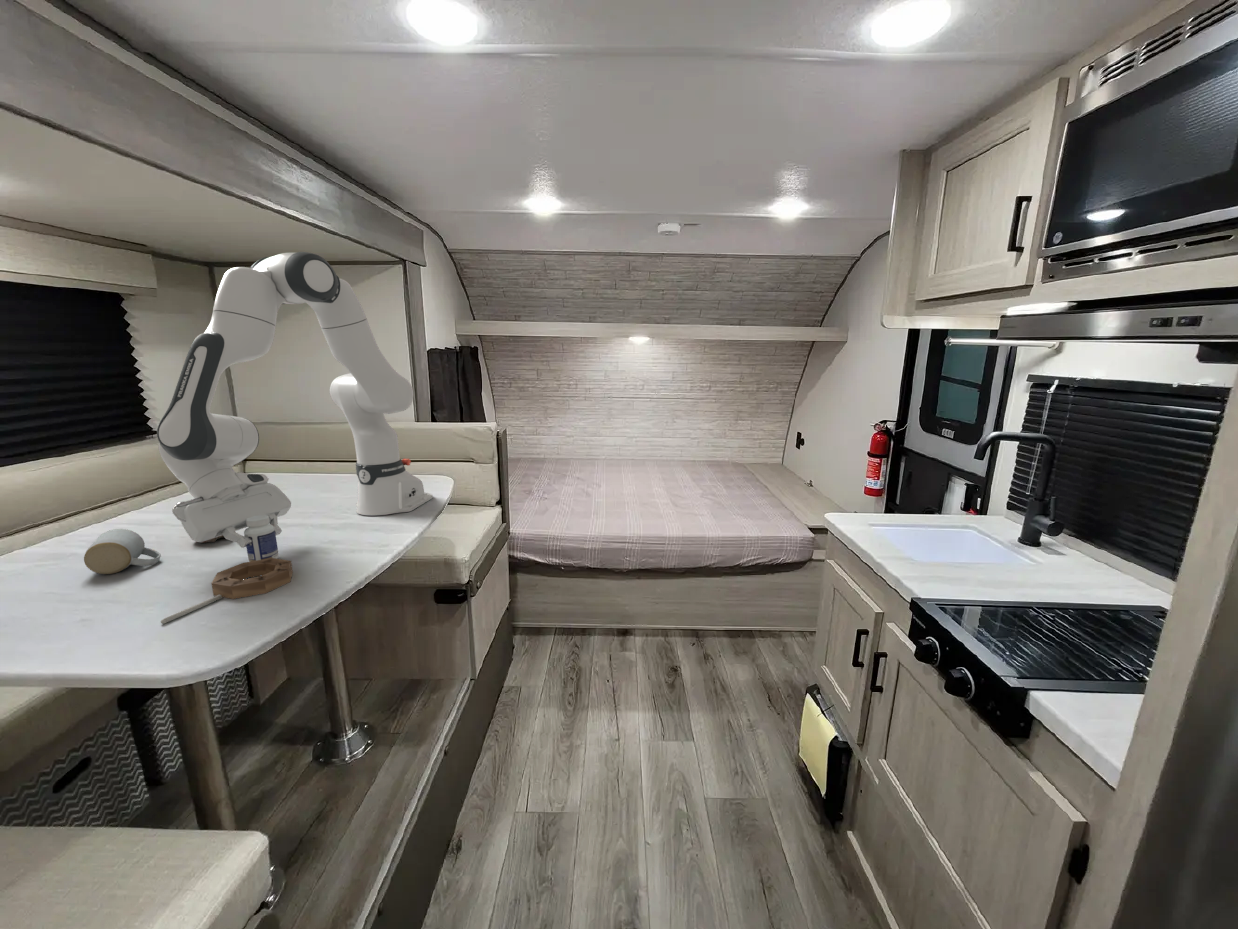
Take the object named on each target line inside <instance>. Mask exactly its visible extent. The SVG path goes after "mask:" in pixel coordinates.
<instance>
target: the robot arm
mask: <svg viewBox="0 0 1238 929" xmlns="http://www.w3.org/2000/svg"><path fill="white" fill-rule="evenodd" d="M215 295H216V296H215V300H214V303H213V309H212V315H211V318H210V322H209V323H208V326H207V327H206V329H205V331H204V332H203V333H200V334H198V335H197V336H196V337H195V339H193V342H192V343H191V345H190V347H189V349H188V352H187V354H186V357H185V360H184V363H183V365H182V368H181V371H180V374H179V377H178V380H177V383H176V385H175V389H174V393H173V396H172V398H171V400H170V404H169V405H168V408H167V410H166V412H165V413H164V414H163V416H162V418H161V420H160V421H159V423H158V426H157V430H156V436H157V440H158V445H157V446H158V452H159V455H160V458H161V460H162V461H163V463H164V464H165V466H166V467H167V468H168V469H169V471H170V472H171V473H172V474H173V475H174V477H175V478H176V479H177V480H178V481H180V482H181V483H183V484H184V485H185V486H186V488H187V491H188V492H189V494H190V495H191V496H192V497H193V498H192V499H189V500H186V501H180V502H178V503H176V505H174V506H173V507H172V510H171V511H172V514H173V516H175V518H176V519H177V520H179V521H180V523H181V525H182V527H183V528H184V530H185V532H186V534H187V535H188V537H189V538H190V539H191V540H192V541H193V542H197V543H200V542H204V541H207V540H210V539H213V538H216V537H219V536H222V535H223V536H224V537H223V538H225V539H226V540H228V541H230V542H234V543H237V545H239V547H240V548H241V549H242V548H243V549H244V548H246V546H249V545H250V544H251V543H252V540H251V539H249V537H248V535H246V536H244V535H242V534H240V533H238V532H237V531H240V530H243V529H247V528H248V526H247V525H246V519H247V518H250V517H253V516H258V515H268V516H269V520H270V521H269V524H270V525H273V526H274V528H275V534H276V536H279V535H280V534H281V533H282V531H283V530H282V529H281V527H280V526H279V524H278V523H279V522H278V518H280V517H283V516H285V515H286V514H288V512H289V511H290V509H291V508H292V501H291V500H290V498H289V497H288V496H287V495H286V494H285V492H283V491H282V490H281V489H280V488H279V487H278V486H277V485H275V484H273V483H271V482H269V480H270V478H269V477H268V476H267V475H266V474H265V473H246V472H239V471H238V472H237V471H235V469H234V468H233V466H236V465H238V464H240V463H241V462H243V461H245V460H246V459H247V458H248V457H249V456H251V455H252V454H253V453H255V451H256V450H257V449H258V446H259V444H260V434H259V430H258V428H257V427H256V425H255V424H254V422H252V420H249V419H248V418H245V417H241V416H235V415H228V414H219V413H218V414H217V413H212V412H211V406H212V404H213V400H214V397H215V395H216V394H215V393H216V390H217V387H218V385H219V382H220V379H221V375H222V374H223V373H224V371H225V370H226V369H228V368H229V367H231V366H233V365H235V364H240V363H241V364H242V363H246V362H251V361H254V360H257V359H260V358H262V357H264V356H265V355H266V354H268V353H269V352H270V351H271V348H272V345H273V343H274V340H275V334H276V326H277V321H278V320H277V319H278V318H277V317H278V312H279V310H280V308H281V306H282V305H285V304H287V305H302V304H307V305H308V306H309V307H310V309H311V310H313V312H314V313H315V316H316V319H317V321H318V324H319V326H320V328H321V329H320V330H321V332H322V333H323V334H322V335H323V336H324V339H325V341H326V344H327V345H328V349H329V351H330V353H331V355H332V357H333V358H334V359H335V361H336V362H338V363H340V364H341V365H342V366H344V368H345V369H346V370H347V371H348V372H349V373H345V374H342V375H339V376H337V377H335V378H334V379H333V380H332V381H331V383H330V387H329V395H330V398H331V400H332V402H333V403H334V404H335V405H336V406H337V407H338V408H339V409H340V411H342V413H343V415H344V416H345V420H346V421H347V423H348V426H349V428H350V430H351V433H352V437H353V441H354V442H353V443H354V448H355V449H354V450H355V454H356V455H355V456H356V462H355V470H356V472H355V473H356V476H357V479H358V480H357V502H356V503H355V507H356V511H355V512H356V513H357V514H359V515H362V516H385V515H391V514H393V515H394V514H399V513H408V512H412V511H414V510H416V508H419V507H420V506H422V505H423V504H426V503H427V502H429V501H430V500H432V499H433V498H434V496H433V494H432V493H429V492H425V488H424V484H423V482H422V480H421V479H420V478H419V477H416V476H415V475H413V474H412V473H410V472H409V471H407V470H406V466H411V463H412V461H411V459H410V458H403V459H401V456H400V448H399V438H398V434H397V433H398V432H397V431H396V430H395V429H394V428H393V427H392V425H390V424H389V423H388V421H387V419H386V417H385V415H387V414H388V415H390V414H395V413H400V412H404V411H406V410H408V409H409V408H410V406H411V405H412V404H413V401H414V389H413V385H412V384H411V383H410V381H409V380H408V379H407V378H405V377H404V376H402V375H401V374H399V373H398V371H397V370H396V369H394V367H393V366H392V365H391V364H390V362H389V361H388V360H387V359H386V357H385V356H384V354H383V352H382V351H381V350H380V348H379V346H378V344H377V341H376V339H375V337H374V334H373V331H372V329H371V325H370V323H369V321H368V319H367V315H366V312H365V311H364V309H363V306H362V304H361V302H360V300H359V298H358V296H357V294H356V292H355V291H354V289H353V288H352V286H351V284H350V283H349V282H348V281H347V280H345V279H343V278H339V276H338V274H336V271H335V270H334V268H333V266H332V265H331V264H330V263H329V262H328V261H327V260H326V258H323V257H322V256H320V255H318V254H316V253H314V252H313V253H312V252H307V251H297V252H281V253H278V254H276V255H273V256H265V257H262V258H260V259H258V260H257V261H256V262H254V263H253V264H252V265H251V266H250V267H247V266H246V267H245V266H236V267H232V268H230V269H228V270H227V271H225V273H223V276H222V279H221V281H220V284H219V287H218V289H217V292H216V294H215ZM384 414H385V415H384Z"/></svg>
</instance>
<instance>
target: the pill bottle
mask: <svg viewBox="0 0 1238 929" xmlns="http://www.w3.org/2000/svg"><path fill="white" fill-rule="evenodd" d="M269 521H270V520H269V516H268V515H258V516H253V517H250V518H247V519H246V525H247V526H248V527H246V528H245V530H244V531H243V536H246V535H248V537H249V539H251V540H252V543H251V544H250V545H249V546H246V547H245V549H246V553H247V558H248V562H251V561H257V560H264V559H270V558H275V559H279V557H280V556H279V555H280V553H279V547H278V542H277V535H276V534H275V528H274V526H273V525H270V524H269Z"/></svg>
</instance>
